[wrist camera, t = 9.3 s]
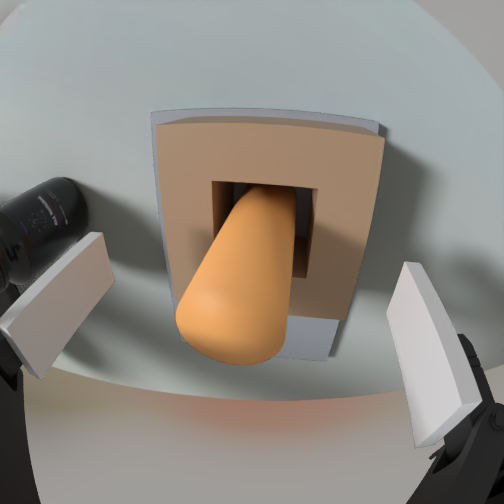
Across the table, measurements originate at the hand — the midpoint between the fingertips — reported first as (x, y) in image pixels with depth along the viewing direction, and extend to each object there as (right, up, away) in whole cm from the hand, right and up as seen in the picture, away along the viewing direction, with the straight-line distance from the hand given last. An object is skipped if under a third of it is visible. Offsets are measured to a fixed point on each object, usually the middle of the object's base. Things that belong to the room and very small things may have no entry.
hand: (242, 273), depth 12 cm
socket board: (+1, +1, +11) cm, 11 cm away
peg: (+2, +4, +7) cm, 9 cm away
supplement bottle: (-18, +5, +12) cm, 22 cm away
